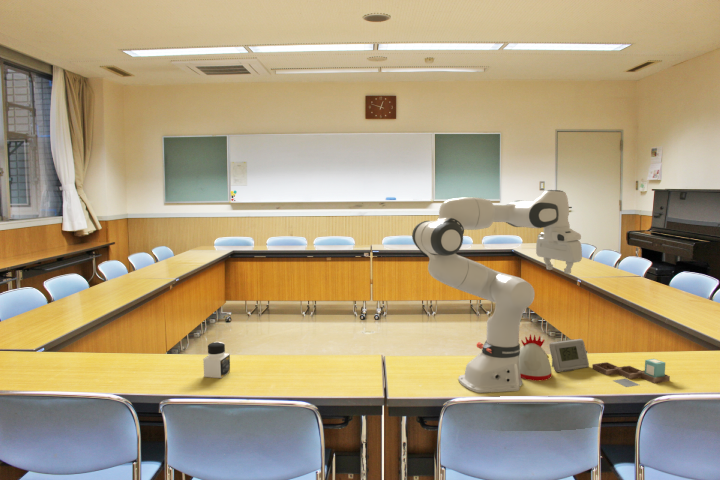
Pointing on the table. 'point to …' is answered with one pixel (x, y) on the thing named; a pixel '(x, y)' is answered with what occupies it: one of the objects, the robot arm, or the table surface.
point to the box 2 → (629, 372)
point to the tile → (626, 382)
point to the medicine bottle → (216, 361)
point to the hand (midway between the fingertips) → (558, 271)
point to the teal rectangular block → (654, 368)
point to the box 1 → (606, 368)
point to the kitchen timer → (534, 360)
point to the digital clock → (568, 355)
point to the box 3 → (655, 380)
